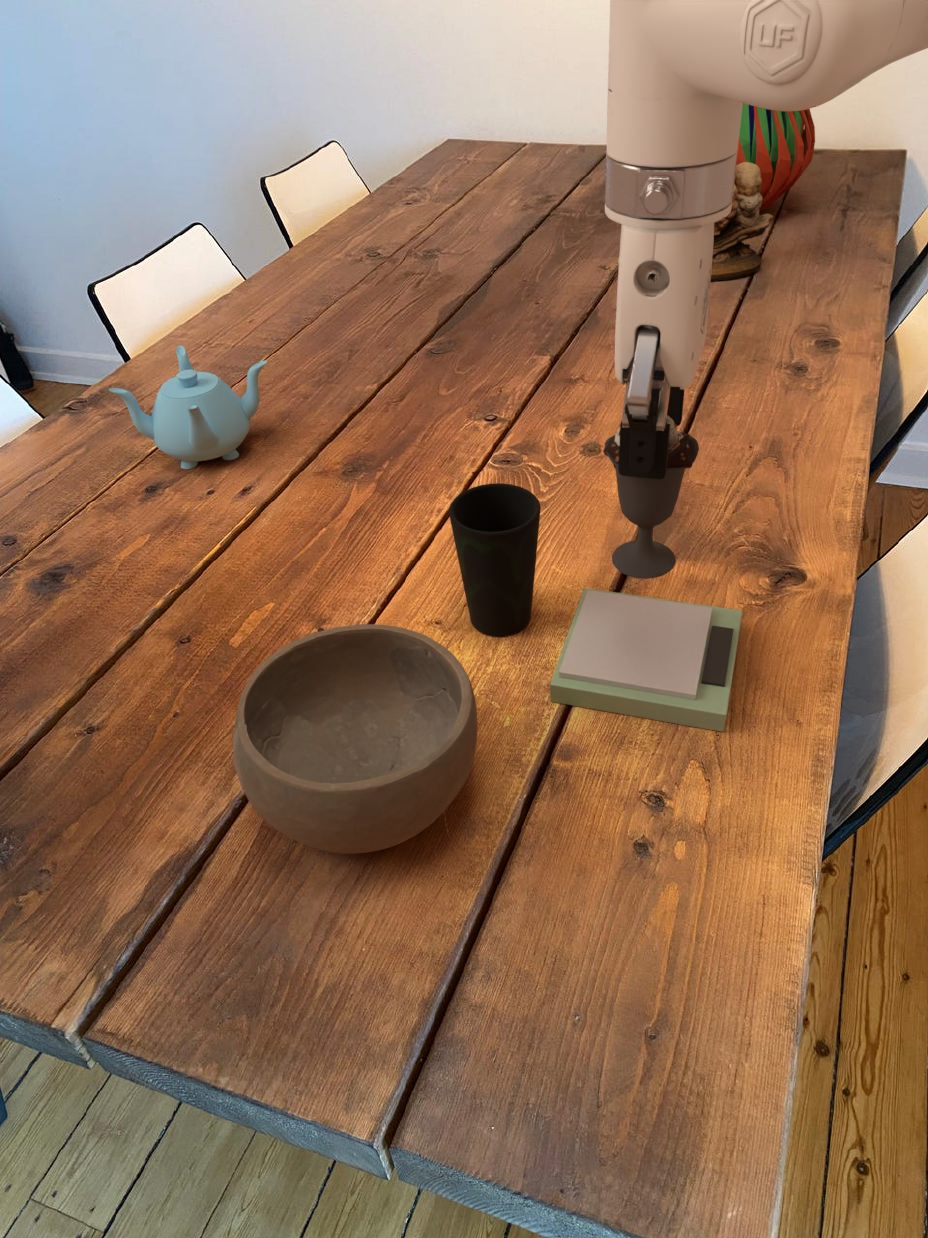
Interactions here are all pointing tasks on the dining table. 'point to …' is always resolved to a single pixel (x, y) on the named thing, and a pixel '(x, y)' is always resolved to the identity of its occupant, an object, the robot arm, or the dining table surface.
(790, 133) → the vase
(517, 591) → the cup
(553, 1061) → the dining table surface
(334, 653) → the bowl
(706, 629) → the scale
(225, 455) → the teapot
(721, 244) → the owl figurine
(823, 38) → the robot arm
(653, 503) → the sundae
